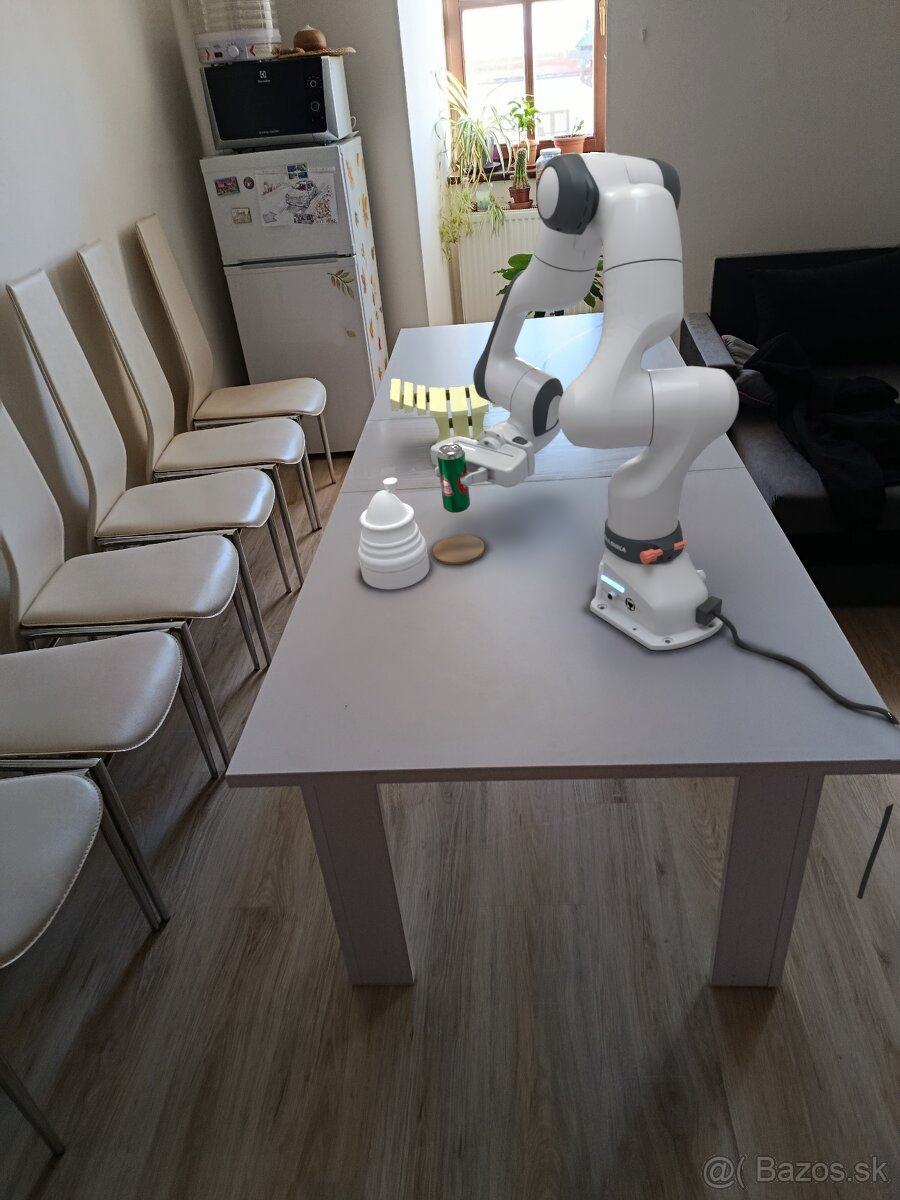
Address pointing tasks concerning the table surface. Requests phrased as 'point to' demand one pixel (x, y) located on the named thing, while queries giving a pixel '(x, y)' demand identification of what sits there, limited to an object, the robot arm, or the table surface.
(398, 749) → the table surface
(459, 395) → the slatted curved stool
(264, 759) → the table surface
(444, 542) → the cork coaster
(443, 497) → the soda can
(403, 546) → the honey pot
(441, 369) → the table surface
